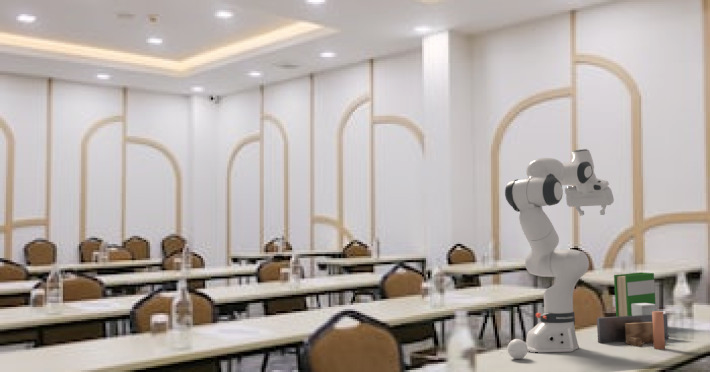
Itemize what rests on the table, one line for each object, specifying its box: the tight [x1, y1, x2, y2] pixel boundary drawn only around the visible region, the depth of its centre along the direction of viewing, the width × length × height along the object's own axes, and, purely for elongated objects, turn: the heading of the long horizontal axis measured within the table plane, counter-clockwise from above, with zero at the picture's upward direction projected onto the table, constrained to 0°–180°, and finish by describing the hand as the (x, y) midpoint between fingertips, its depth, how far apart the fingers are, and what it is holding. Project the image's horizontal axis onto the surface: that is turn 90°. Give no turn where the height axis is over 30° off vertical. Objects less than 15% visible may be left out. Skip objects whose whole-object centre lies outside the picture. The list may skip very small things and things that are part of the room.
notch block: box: [625, 322, 654, 347], centre depth 290 cm, size 12×7×8 cm, turn 99°
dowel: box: [652, 310, 666, 350], centre depth 280 cm, size 4×4×14 cm
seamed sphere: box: [502, 338, 529, 360], centre depth 270 cm, size 10×7×7 cm
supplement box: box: [631, 303, 657, 316], centre depth 316 cm, size 7×7×13 cm
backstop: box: [596, 313, 669, 344], centre depth 298 cm, size 30×2×10 cm, turn 99°
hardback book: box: [613, 271, 657, 317], centre depth 333 cm, size 18×7×24 cm, turn 118°
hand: (592, 214), depth 319 cm, fingers open, 8 cm apart
